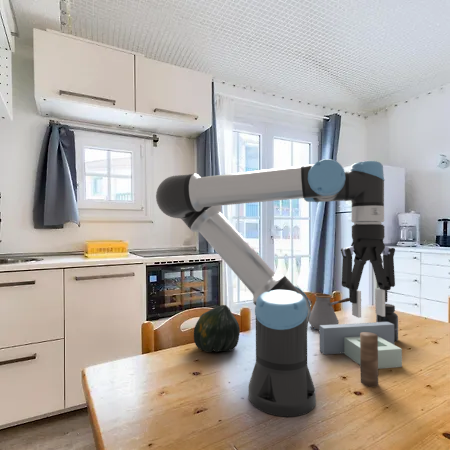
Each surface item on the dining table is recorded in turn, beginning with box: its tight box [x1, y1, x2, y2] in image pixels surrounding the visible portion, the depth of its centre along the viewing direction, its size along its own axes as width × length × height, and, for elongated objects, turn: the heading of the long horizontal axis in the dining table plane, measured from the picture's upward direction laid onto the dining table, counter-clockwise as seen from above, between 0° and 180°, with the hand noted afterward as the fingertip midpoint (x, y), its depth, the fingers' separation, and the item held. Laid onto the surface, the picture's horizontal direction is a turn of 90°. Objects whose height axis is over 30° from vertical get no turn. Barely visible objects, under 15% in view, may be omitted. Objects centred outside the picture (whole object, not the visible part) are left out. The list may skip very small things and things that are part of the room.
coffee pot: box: [308, 293, 350, 331], centre depth 116 cm, size 21×12×15 cm, turn 36°
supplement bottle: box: [375, 303, 399, 343], centre depth 107 cm, size 7×7×12 cm
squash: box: [193, 304, 241, 353], centre depth 99 cm, size 14×15×15 cm
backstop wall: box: [318, 321, 395, 355], centre depth 97 cm, size 24×3×8 cm, turn 99°
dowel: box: [359, 332, 379, 388], centre depth 77 cm, size 4×4×12 cm
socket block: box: [343, 336, 403, 370], centre depth 90 cm, size 11×11×5 cm
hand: (368, 315), depth 77 cm, fingers open, 6 cm apart
